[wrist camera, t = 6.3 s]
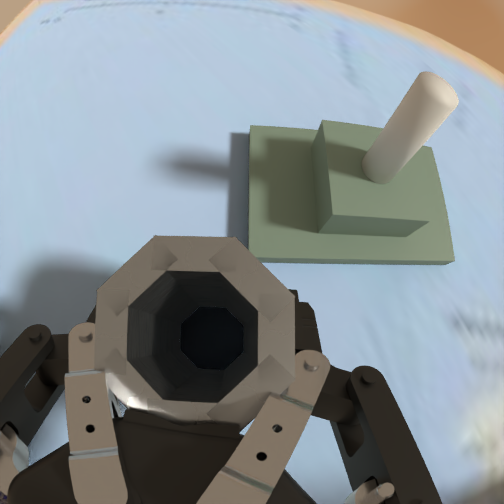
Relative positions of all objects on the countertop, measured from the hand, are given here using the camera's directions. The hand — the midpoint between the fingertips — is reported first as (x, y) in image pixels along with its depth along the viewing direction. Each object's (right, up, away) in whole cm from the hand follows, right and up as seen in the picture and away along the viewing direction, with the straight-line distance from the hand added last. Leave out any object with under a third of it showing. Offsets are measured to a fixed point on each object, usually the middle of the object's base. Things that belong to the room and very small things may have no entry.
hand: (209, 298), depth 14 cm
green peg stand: (+9, +6, +7) cm, 12 cm away
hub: (0, -3, +4) cm, 5 cm away
